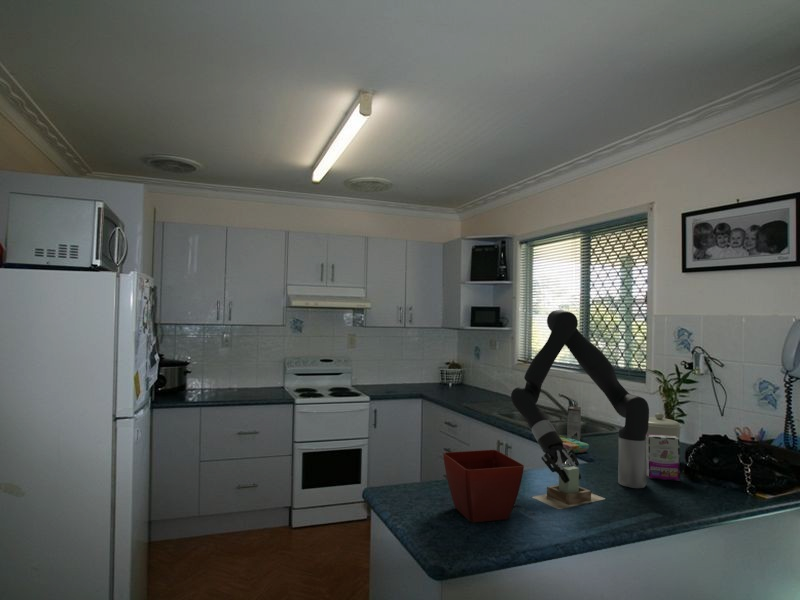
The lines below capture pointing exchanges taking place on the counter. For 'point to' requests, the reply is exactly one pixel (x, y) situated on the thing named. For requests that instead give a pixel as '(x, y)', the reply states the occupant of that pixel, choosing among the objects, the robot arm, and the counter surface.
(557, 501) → the puzzle board
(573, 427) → the coffee box
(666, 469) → the candy bar box
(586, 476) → the counter surface
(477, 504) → the plant pot
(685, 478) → the counter surface
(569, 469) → the sage block
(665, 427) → the canister
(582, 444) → the puzzle game
